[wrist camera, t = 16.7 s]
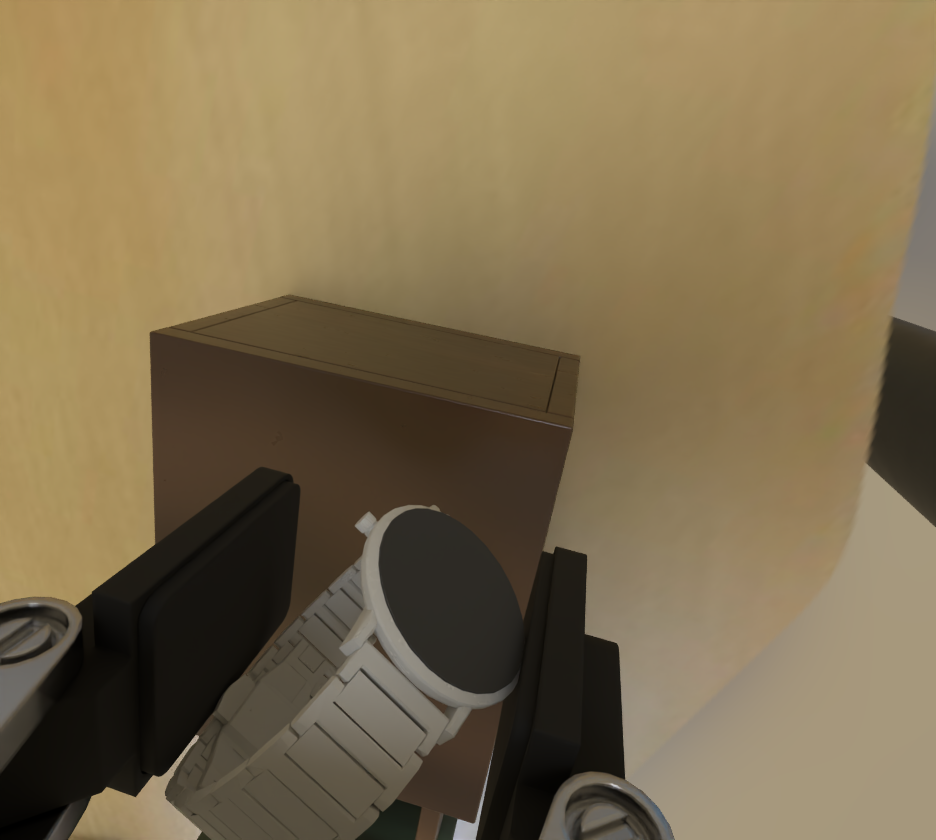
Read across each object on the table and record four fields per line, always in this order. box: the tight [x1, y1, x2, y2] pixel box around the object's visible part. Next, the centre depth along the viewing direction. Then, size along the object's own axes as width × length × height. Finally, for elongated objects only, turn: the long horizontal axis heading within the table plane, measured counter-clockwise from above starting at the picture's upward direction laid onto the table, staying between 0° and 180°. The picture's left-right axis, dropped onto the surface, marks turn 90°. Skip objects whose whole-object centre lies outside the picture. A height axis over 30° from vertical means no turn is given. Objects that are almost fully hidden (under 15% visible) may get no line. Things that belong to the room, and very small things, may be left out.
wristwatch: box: [165, 505, 525, 840], centre depth 9 cm, size 3×5×5 cm, turn 134°
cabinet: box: [150, 295, 580, 823], centre depth 23 cm, size 16×13×9 cm
